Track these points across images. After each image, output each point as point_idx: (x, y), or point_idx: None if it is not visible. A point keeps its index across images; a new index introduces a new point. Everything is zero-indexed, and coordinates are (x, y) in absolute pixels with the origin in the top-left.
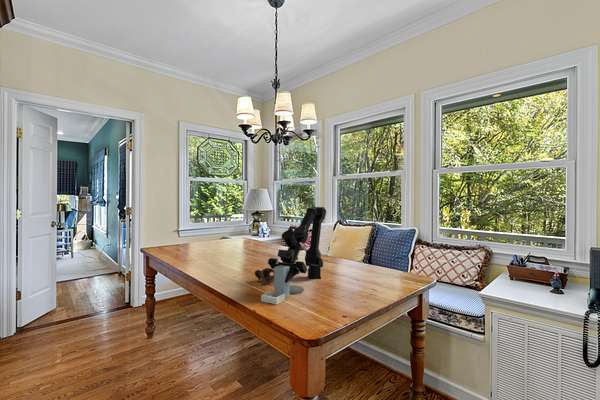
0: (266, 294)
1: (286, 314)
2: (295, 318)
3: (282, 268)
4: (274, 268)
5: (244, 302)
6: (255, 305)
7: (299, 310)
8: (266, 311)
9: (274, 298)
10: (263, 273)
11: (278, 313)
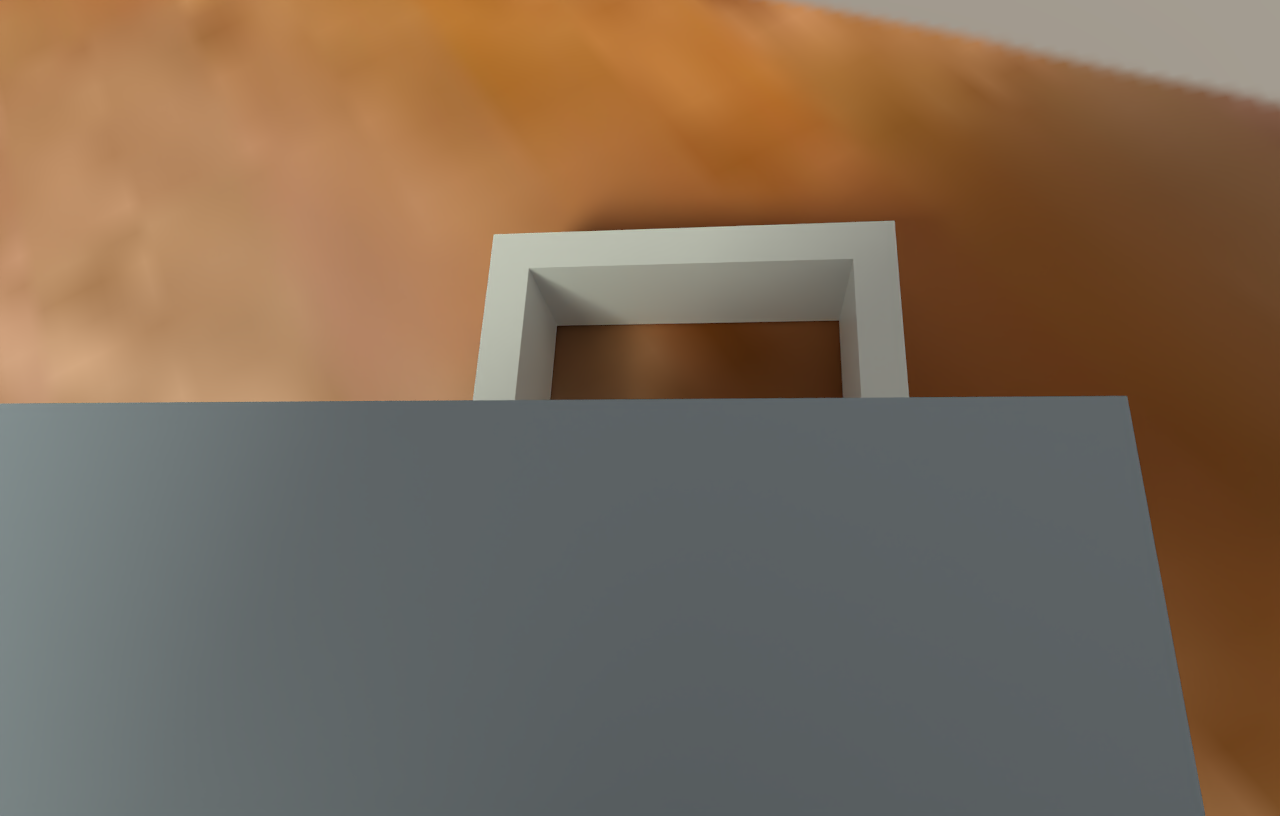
0: (856, 359)
1: (239, 88)
2: (99, 56)
3: (31, 403)
4: (1043, 442)
5: (1103, 109)
6: (829, 106)
7: (99, 273)
8: (536, 33)
9: (548, 238)
10: None
11: (351, 62)
